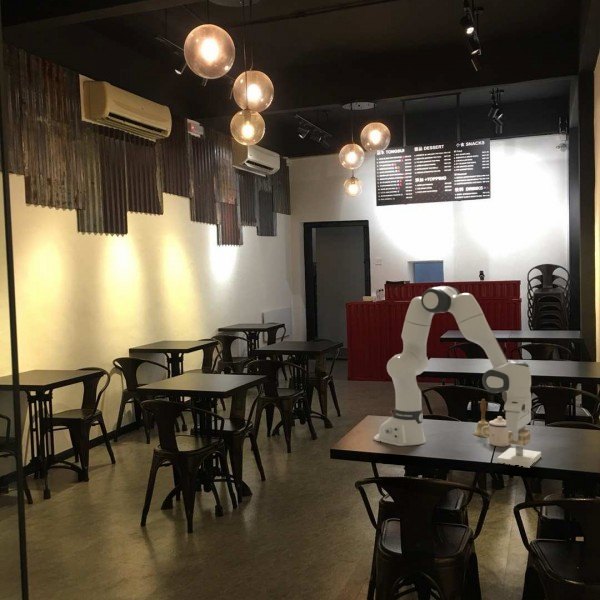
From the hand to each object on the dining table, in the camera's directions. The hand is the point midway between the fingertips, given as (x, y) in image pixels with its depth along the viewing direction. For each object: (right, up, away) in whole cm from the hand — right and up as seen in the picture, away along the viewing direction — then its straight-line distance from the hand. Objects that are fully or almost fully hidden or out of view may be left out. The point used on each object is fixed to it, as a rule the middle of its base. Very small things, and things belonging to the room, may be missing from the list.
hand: (519, 438), depth 242 cm
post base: (0, -9, 0) cm, 8 cm away
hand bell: (-3, -7, +39) cm, 40 cm away
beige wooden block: (0, -2, 0) cm, 2 cm away
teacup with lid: (-2, -8, +24) cm, 25 cm away
